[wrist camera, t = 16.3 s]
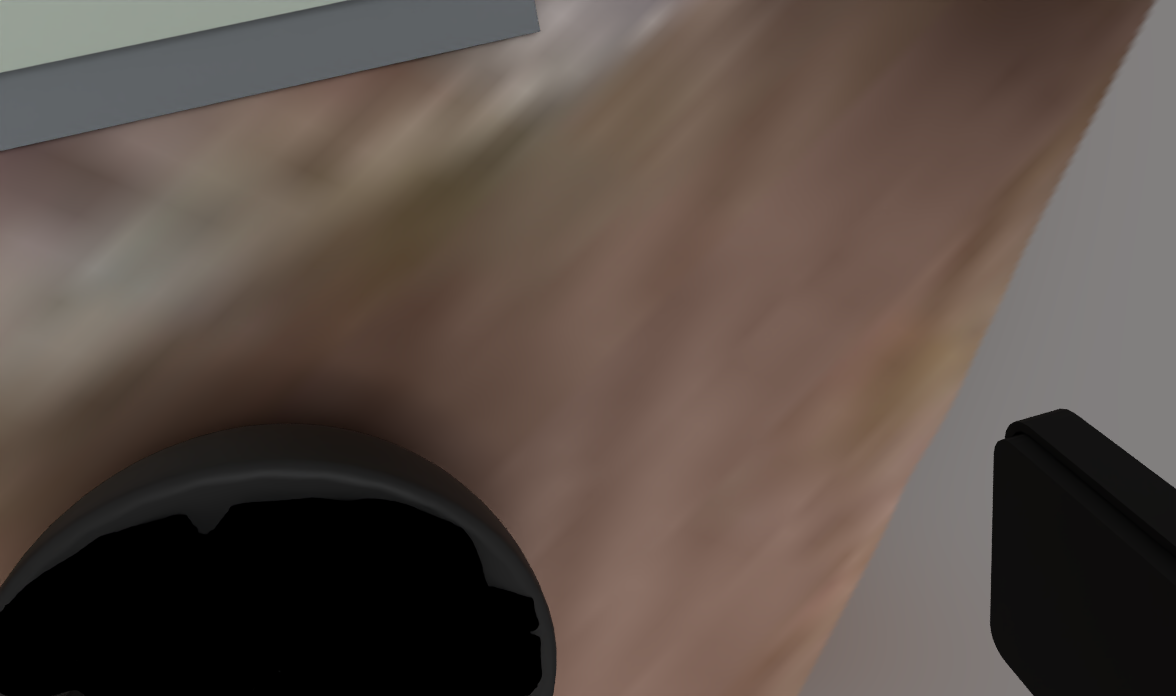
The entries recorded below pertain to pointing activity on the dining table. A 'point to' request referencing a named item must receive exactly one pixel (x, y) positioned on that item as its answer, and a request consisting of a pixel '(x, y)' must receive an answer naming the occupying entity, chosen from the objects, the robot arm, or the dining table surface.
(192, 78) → the mat
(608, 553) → the dining table surface
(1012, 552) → the robot arm
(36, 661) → the coal bowl
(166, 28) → the lid
